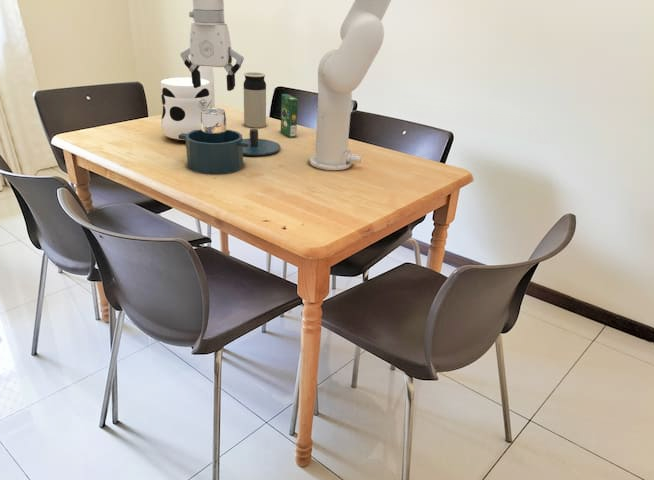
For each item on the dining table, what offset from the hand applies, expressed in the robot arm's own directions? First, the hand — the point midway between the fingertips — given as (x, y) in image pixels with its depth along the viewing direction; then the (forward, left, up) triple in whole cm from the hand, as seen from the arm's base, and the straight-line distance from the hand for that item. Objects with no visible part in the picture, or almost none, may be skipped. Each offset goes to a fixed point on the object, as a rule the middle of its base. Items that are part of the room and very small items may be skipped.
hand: (213, 88), depth 136 cm
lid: (-4, -19, -21) cm, 28 cm away
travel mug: (+5, -47, -22) cm, 52 cm away
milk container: (+19, -22, -22) cm, 36 cm away
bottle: (+25, -47, -21) cm, 57 cm away
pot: (0, 0, -21) cm, 21 cm away
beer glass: (0, 0, -21) cm, 21 cm away
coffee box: (-10, -40, -22) cm, 46 cm away
